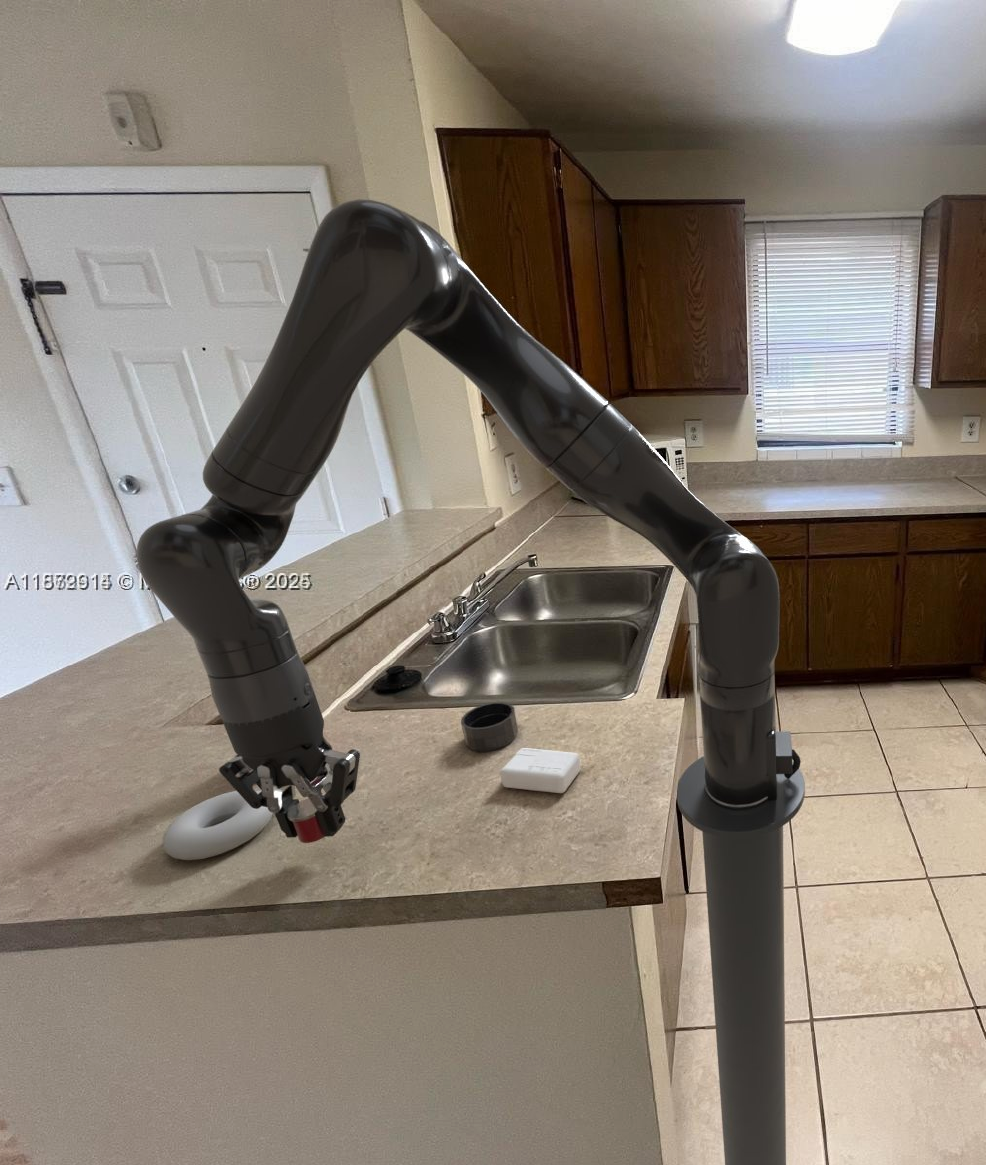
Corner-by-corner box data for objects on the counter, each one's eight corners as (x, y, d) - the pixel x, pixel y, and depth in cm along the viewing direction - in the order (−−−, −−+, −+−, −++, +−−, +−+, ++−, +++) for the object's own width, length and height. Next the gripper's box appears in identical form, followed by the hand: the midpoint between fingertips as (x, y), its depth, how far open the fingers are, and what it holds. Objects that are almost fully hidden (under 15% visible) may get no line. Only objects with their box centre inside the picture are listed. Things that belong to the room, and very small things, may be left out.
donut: (147, 855, 68) (203, 876, 65) (136, 832, 67) (192, 851, 64) (244, 799, 77) (297, 815, 74) (235, 777, 76) (289, 792, 73)
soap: (583, 769, 82) (580, 751, 81) (564, 796, 77) (560, 777, 76) (524, 763, 83) (520, 745, 82) (500, 789, 78) (497, 770, 77)
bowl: (525, 723, 93) (521, 701, 91) (507, 752, 86) (502, 728, 85) (479, 724, 93) (474, 702, 91) (457, 753, 86) (451, 729, 84)
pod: (343, 820, 69) (334, 795, 68) (321, 844, 65) (312, 818, 64) (312, 821, 69) (302, 796, 68) (288, 845, 65) (278, 819, 64)
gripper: (164, 722, 57) (225, 859, 63) (310, 718, 58) (358, 855, 64) (229, 683, 65) (279, 810, 71) (360, 680, 65) (398, 806, 71)
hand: (316, 831), depth 67 cm, fingers closed on pod, 3 cm apart
